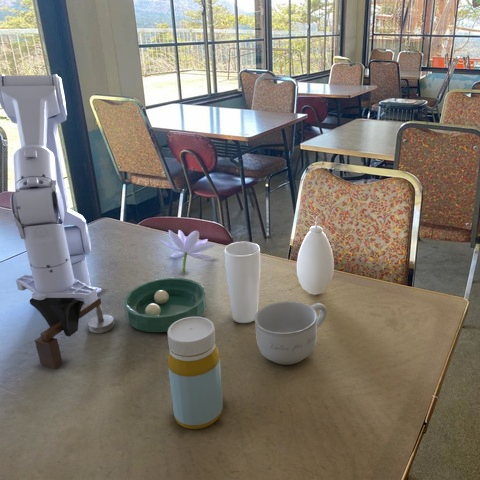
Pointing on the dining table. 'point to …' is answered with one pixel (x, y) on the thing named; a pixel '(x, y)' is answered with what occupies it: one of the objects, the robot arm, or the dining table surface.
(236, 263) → the white tumbler
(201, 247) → the water lily
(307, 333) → the teacup
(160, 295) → the ball
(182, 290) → the bowl
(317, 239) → the sauce bottle
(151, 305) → the ball
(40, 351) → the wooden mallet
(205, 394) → the bottle
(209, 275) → the dining table surface
